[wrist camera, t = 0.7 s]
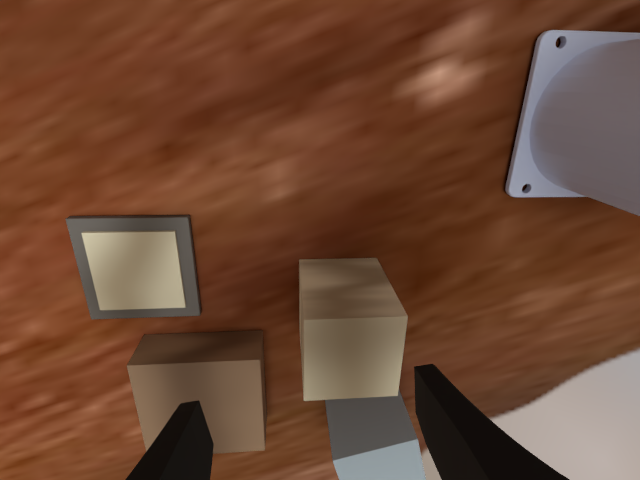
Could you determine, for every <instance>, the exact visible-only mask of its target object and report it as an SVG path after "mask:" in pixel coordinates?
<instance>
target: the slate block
mask: <svg viewBox="0 0 640 480" xmlns="http://www.w3.org/2000/svg"><path fill="white" fill-rule="evenodd" d="M325 404H326V412H327V420H328V427H329V435H330V443H331V451H332V459H333V463H334V466H335V469H336V472H337V474H338V477H339V480H426V478H425V473H424V468H423V463H422V458H421V453H420V448H419V444H418V439H417V436H416V434H415V431H414V428H413V426H412V423H411V420H410V418H409V415H408V412H407V410H406V407H405V404H404V402H403V399H402V396H401V394H400V391H399V390H398V396H386V397H367V398H349V399H330V400H325Z"/></svg>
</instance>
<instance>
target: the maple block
mask: <svg viewBox="0 0 640 480" xmlns="http://www.w3.org/2000/svg"><path fill="white" fill-rule="evenodd" d="M407 319H408V316H407V314H406V312H405V310H404V308H403V306H402V304H401V303H400V301H399V299H398V297H397V295H396V293H395V291H394V289H393V288H392V286H391V284H390V282H389V280H388V278H387V276H386V274H385V273H384V271H383V269H382V267H381V265H380V263H379V261H378V259H377V258H345V259H299V329H300V345H301V362H302V378H303V395H304V401H311V400H330V399H349V398H367V397H386V396H398V390H399V382H400V374H401V366H402V358H403V351H404V343H405V335H406V327H407Z"/></svg>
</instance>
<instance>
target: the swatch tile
mask: <svg viewBox="0 0 640 480" xmlns="http://www.w3.org/2000/svg"><path fill="white" fill-rule="evenodd" d="M66 222H67V226H68V230H69V234H70V238H71V242H72V246H73V250H74V253H75V257H76V261H77V265H78V269H79V273H80V277H81V281H82V285H83V289H84V293H85V296H86V300H87V304H88V308H89V312H90V316H91V319H114V318H144V317H174V316H200V315H201V303H200V295H199V287H198V279H197V270H196V262H195V254H194V246H193V238H192V229H191V221H190V215H141V216H69V217H68V218H66Z"/></svg>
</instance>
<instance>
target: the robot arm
mask: <svg viewBox="0 0 640 480" xmlns="http://www.w3.org/2000/svg"><path fill="white" fill-rule="evenodd" d="M557 38H560V40H561V44H560V46H559V47H558V48H557V47H556V40H557ZM525 184H527V188H526V189H525V190H524V191H522V188H523V186H524V185H525ZM505 191H506V193H507V194H508V195H510V196H512V197H589V198H592V199H595V200H597V201H600V202H603V203H606V204H608V205H611V206H614V207H616V208H619V209H622V210H625V211H627V212H630V213H633V214H635V215H638V216H640V33H630V32H600V31H571V30H550V31H545V32H543V33H542V34H541V35H540V36H539V37H538V39H537V42H536V46H535V50H534V55H533V60H532V65H531V69H530V74H529V79H528V83H527V88H526V93H525V98H524V102H523V107H522V112H521V116H520V121H519V126H518V131H517V135H516V140H515V145H514V149H513V154H512V159H511V164H510V168H509V173H508V178H507V182H506V188H505ZM414 371H415V406H416V414H417V418H418V421H419V424H420V427H421V430H422V433H423V436H424V439H425V442H426V445H427V447H428V449H429V452H430V454H431V456H432V458H433V461H434V463H435V465H436V468H437V470H438V472H439V474H440V477H441V479H442V480H569V479H568V478H566V477H565V476H563V475H561V474H559V473H558V472H557V471H555V470H554V469H553V468H551V467H549V466H548V465H547V464H545V463H544V462H543V461H541V460H540V459H538V458H537V457H536V456H534V455H533V454H532V453H530V452H529V451H528V450H526V449H525V448H524V447H522V446H521V445H520V444H518V443H517V442H516V441H515V440H513V439H512V438H511V437H510V436H508V435H507V434H506V433H505V432H504V431H503V430H501V429H500V428H499V427H498V426H497V425H495V424H494V423H493V422H492V421H491V420H490V419H489V418H487V417H486V416H485V415H484V414H483V413H482V412H481V411H480V410H479V409H478V408H477V407H475V406H474V405H473V404H472V403H471V402H470V401H469V400H468V399H467V398H466V397H465V396H464V395H463V394H462V393H461V392H460V391H459V390H458V389H457V388H456V387H455V386H454V385H453V384H452V383H451V382H450V381H449V380H448V379H447V378H446V377H445V376H444V375H443V374H442V373H441V372H440V371H439V369H438V368H437V367H436V366H435V365H433V364H428V365H422V366H416V367H414ZM213 447H214V443H213V440H212V437H211V434H210V431H209V428H208V425H207V422H206V419H205V416H204V413H203V410H202V407H201V404H200V401H199V400H198V401H192V402H185V403H180V405H179V406H178V407H177V409H176V410H175V412H174V413H173V414H172V416H171V417H170V419H169V420H168V422H167V423H166V425H165V426H164V428H163V429H162V430H161V432H160V433H159V435H158V436H157V438H156V439H155V440H154V442H153V443H152V445H151V446H150V447H149V449H148V450H147V452H146V453H145V454H144V456H143V457H142V458H141V460H140V461H139V463H138V464H137V465H136V467H135V468H134V469H133V471H132V472H131V473H130V474H129V476H128V477H127V478H126V480H210V474H211V466H212V457H213Z"/></svg>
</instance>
